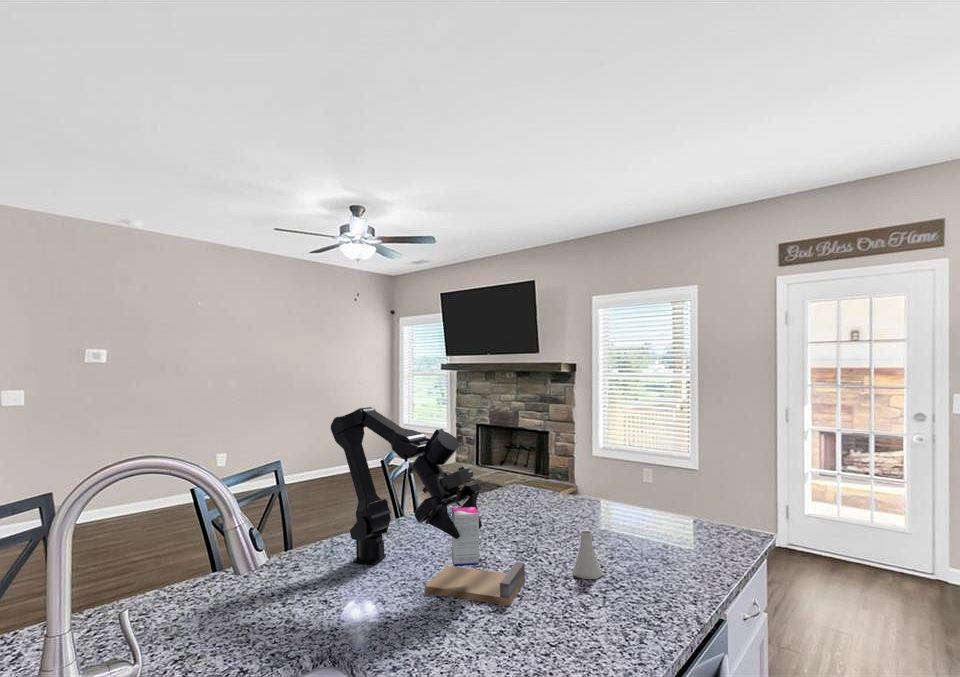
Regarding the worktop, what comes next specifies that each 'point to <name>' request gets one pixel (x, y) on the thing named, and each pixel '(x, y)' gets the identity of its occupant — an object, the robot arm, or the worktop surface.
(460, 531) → the supplement box
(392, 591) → the worktop surface
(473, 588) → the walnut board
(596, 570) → the flask
